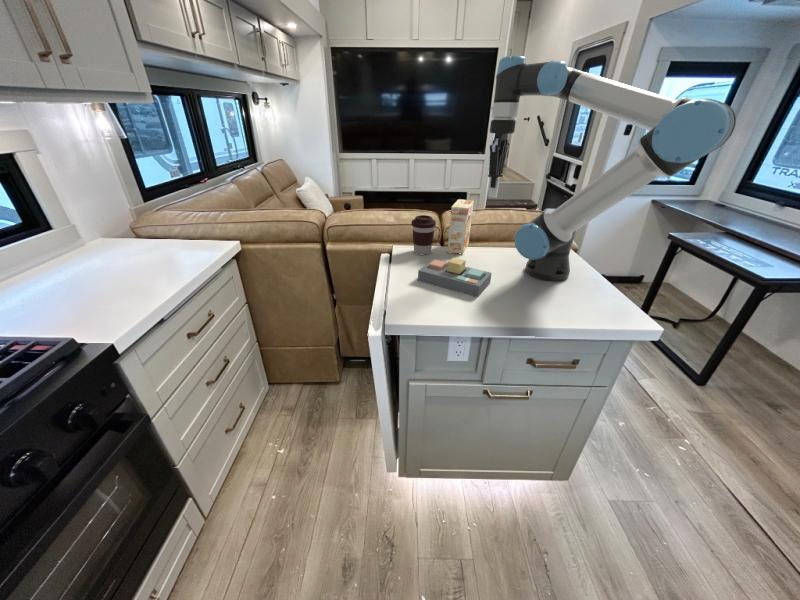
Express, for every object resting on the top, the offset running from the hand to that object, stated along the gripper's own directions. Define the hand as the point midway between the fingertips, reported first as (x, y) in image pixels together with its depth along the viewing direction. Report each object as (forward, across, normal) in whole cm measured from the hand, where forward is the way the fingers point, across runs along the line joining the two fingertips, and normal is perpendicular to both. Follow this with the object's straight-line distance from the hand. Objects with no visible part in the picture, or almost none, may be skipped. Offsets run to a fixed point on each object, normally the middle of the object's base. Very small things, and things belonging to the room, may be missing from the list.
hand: (492, 196), depth 112 cm
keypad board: (+26, +18, -4) cm, 32 cm away
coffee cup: (+27, -1, -27) cm, 38 cm away
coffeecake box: (+27, -14, -16) cm, 34 cm away
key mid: (+22, +17, -4) cm, 28 cm away
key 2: (+25, +17, +3) cm, 30 cm away
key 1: (+25, +17, -11) cm, 32 cm away
